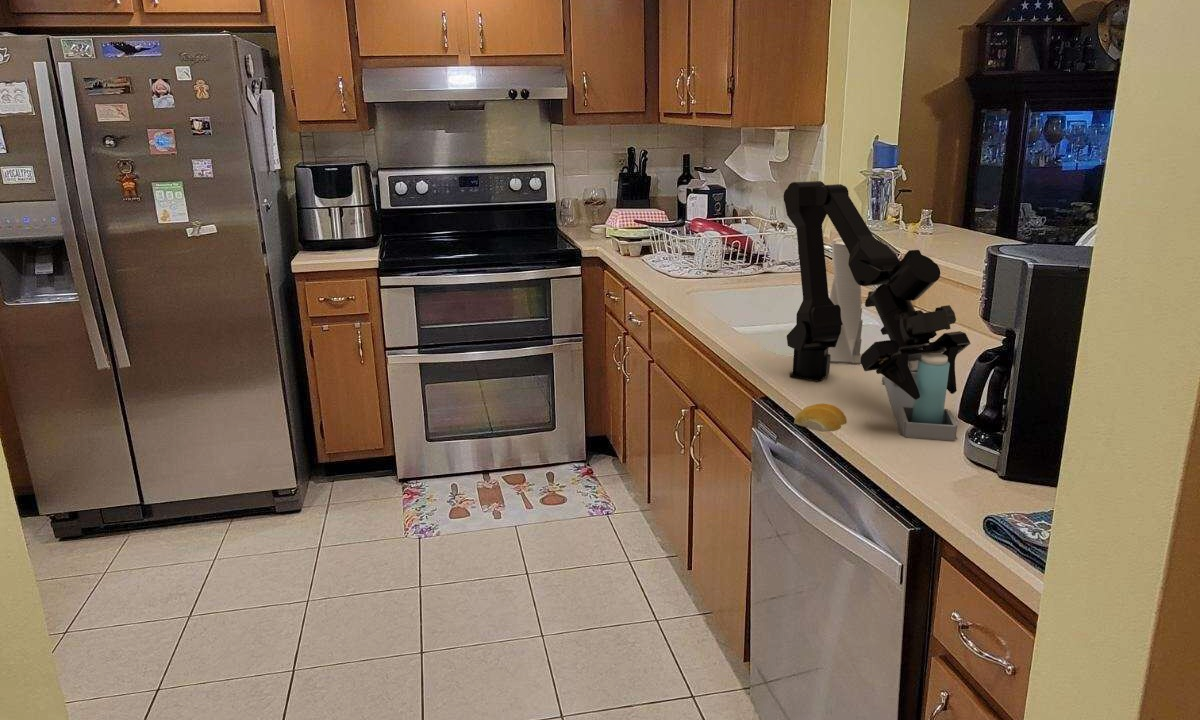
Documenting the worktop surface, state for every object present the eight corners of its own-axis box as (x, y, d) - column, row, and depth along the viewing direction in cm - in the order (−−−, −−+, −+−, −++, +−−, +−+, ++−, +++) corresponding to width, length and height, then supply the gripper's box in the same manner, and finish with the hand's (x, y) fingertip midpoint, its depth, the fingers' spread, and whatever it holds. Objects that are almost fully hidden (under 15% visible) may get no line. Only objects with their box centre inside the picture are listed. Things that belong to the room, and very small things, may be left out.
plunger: (894, 381, 162) (897, 352, 161) (899, 375, 166) (902, 346, 164) (917, 385, 160) (920, 355, 159) (921, 378, 164) (924, 349, 162)
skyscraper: (863, 366, 176) (875, 235, 168) (824, 364, 178) (834, 234, 170) (859, 355, 184) (871, 228, 176) (822, 353, 186) (831, 227, 177)
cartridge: (908, 431, 140) (916, 357, 136) (913, 422, 143) (922, 350, 140) (938, 437, 137) (947, 362, 133) (943, 427, 141) (952, 354, 137)
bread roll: (851, 424, 146) (853, 403, 145) (832, 440, 139) (834, 418, 138) (806, 414, 151) (808, 393, 150) (786, 430, 144) (788, 408, 143)
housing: (958, 446, 136) (961, 424, 135) (900, 442, 138) (902, 420, 137) (929, 384, 166) (931, 364, 164) (881, 381, 167) (883, 362, 166)
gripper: (877, 294, 134) (917, 380, 127) (969, 285, 140) (1012, 366, 133) (843, 329, 143) (879, 411, 137) (931, 319, 149) (969, 396, 143)
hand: (936, 395), depth 137 cm, fingers open, 7 cm apart
